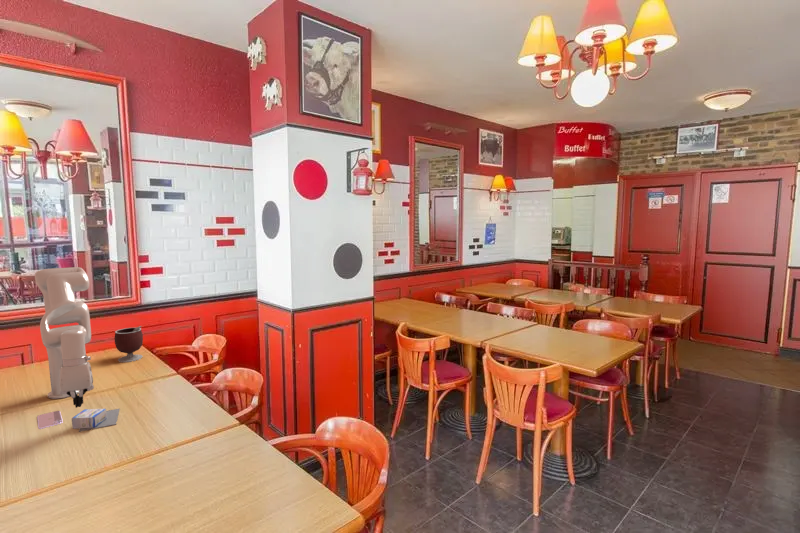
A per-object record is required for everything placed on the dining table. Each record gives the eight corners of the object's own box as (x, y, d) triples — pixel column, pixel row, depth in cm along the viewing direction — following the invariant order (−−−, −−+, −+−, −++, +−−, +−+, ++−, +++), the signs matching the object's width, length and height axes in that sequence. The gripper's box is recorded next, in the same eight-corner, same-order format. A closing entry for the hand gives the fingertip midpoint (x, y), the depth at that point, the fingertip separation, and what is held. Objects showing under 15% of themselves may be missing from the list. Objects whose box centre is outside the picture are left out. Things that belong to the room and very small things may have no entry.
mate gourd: (110, 362, 245) (107, 328, 243) (129, 354, 259) (126, 322, 257) (134, 363, 243) (131, 329, 241) (152, 355, 257) (149, 323, 254)
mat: (85, 415, 179) (85, 414, 179) (119, 409, 185) (119, 408, 185) (78, 431, 165) (78, 431, 165) (116, 424, 171) (115, 424, 171)
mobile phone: (60, 409, 184) (63, 421, 173) (60, 411, 184) (63, 424, 173) (36, 414, 179) (38, 428, 167) (37, 417, 179) (38, 430, 168)
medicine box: (84, 409, 175) (106, 408, 175) (85, 419, 175) (107, 418, 176) (70, 418, 167) (94, 416, 167) (72, 429, 167) (95, 427, 168)
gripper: (98, 355, 176) (102, 398, 178) (52, 361, 169) (57, 406, 171) (96, 361, 169) (100, 405, 171) (48, 367, 162) (52, 413, 164)
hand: (78, 405), depth 171 cm, fingers closed
